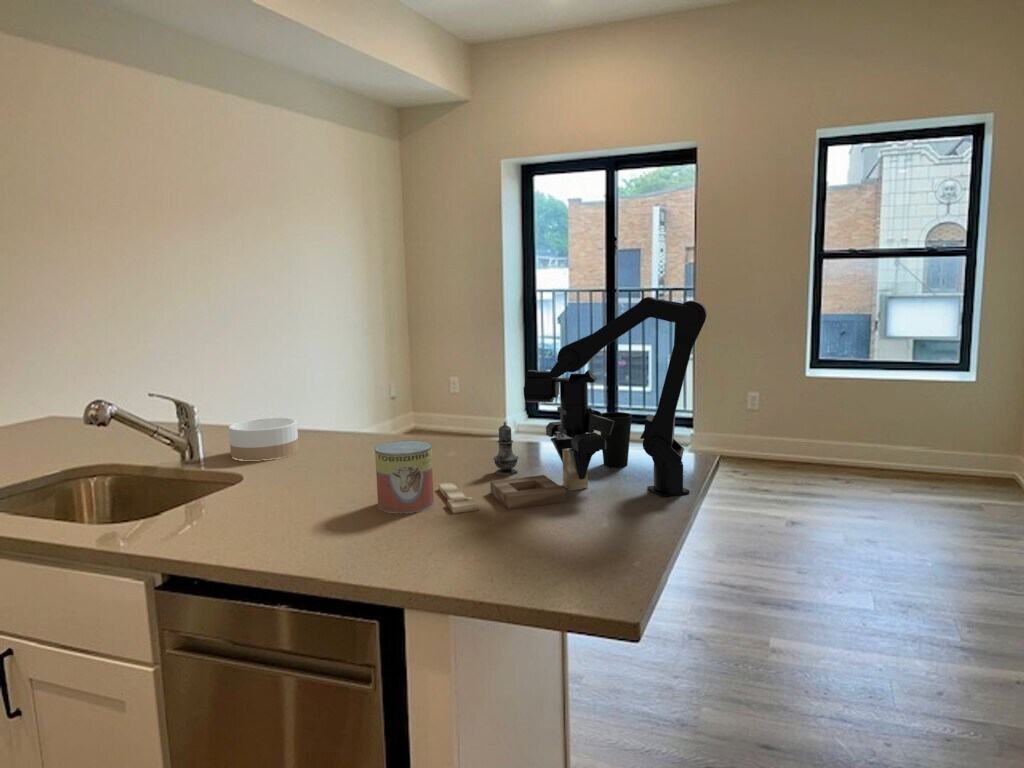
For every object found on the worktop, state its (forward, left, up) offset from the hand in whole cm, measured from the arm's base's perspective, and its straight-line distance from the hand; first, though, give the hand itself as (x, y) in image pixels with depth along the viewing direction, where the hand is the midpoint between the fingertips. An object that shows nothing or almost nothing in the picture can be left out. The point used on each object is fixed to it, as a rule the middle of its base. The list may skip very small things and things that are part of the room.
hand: (575, 475), depth 154 cm
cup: (+13, -16, -3) cm, 21 cm away
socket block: (-3, +12, -2) cm, 13 cm away
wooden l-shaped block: (+2, +26, -2) cm, 26 cm away
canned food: (+2, +36, -3) cm, 36 cm away
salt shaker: (+17, +10, -3) cm, 20 cm away
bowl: (+62, +63, -3) cm, 89 cm away
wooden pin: (0, 0, -3) cm, 3 cm away
